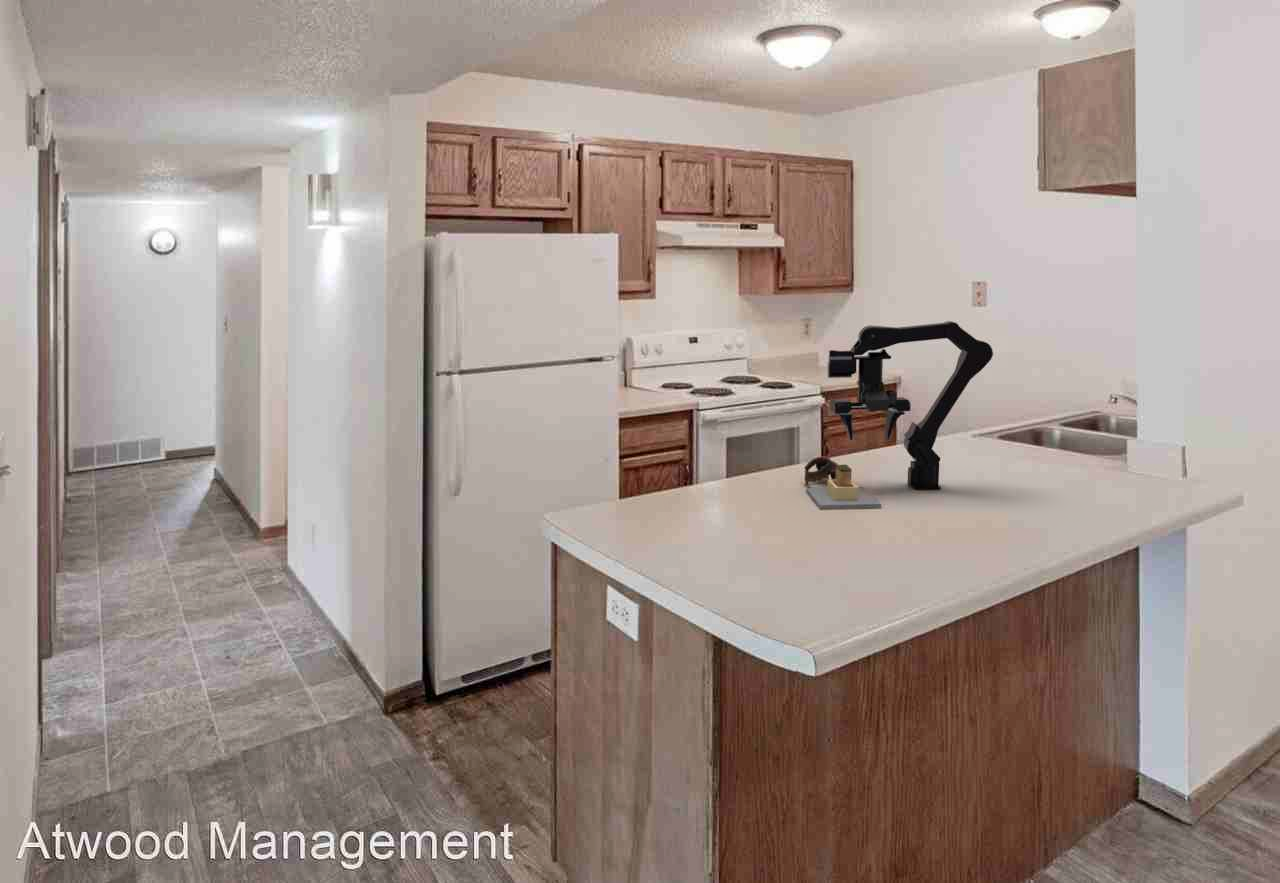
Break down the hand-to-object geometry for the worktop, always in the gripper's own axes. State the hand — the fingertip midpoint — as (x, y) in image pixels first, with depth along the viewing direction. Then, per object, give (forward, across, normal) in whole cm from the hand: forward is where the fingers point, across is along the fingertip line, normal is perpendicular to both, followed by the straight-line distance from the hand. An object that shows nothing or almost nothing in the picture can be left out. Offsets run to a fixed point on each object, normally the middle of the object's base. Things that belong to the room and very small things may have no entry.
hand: (869, 439), depth 216 cm
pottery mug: (+12, -10, +4) cm, 16 cm away
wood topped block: (+11, -10, -13) cm, 20 cm away
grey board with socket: (+12, -10, -13) cm, 20 cm away
